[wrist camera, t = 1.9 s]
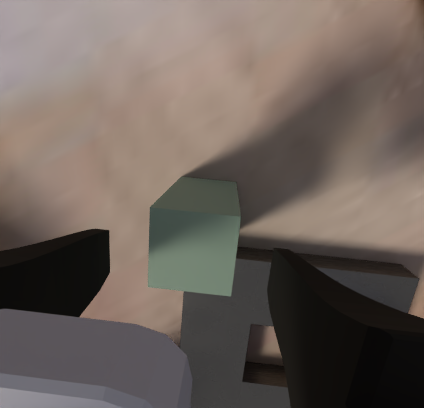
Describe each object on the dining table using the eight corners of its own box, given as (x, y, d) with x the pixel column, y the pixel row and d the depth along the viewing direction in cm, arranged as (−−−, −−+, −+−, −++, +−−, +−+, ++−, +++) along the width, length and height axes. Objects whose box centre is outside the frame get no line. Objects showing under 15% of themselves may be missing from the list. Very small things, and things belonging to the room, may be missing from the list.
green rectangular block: (236, 182, 19) (241, 216, 12) (230, 233, 20) (231, 296, 13) (181, 176, 19) (149, 207, 12) (178, 227, 21) (147, 287, 13)
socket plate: (401, 264, 20) (419, 278, 18) (352, 420, 24) (362, 445, 23) (190, 241, 21) (186, 253, 19) (179, 398, 25) (174, 420, 23)
